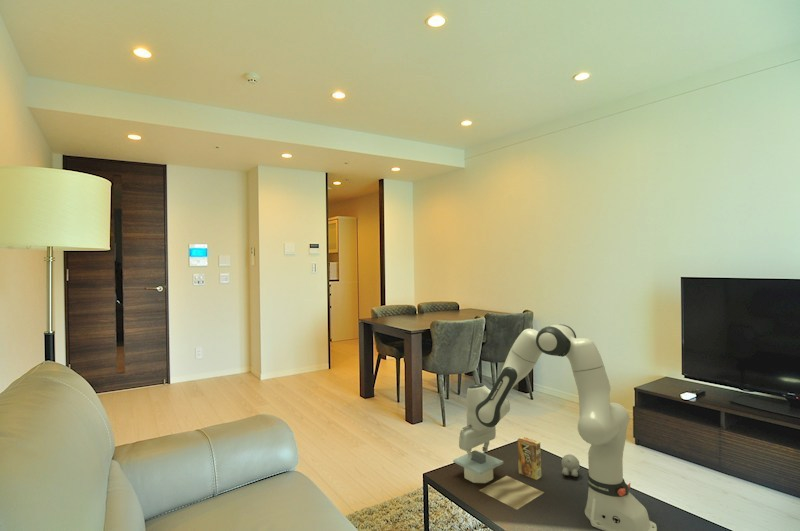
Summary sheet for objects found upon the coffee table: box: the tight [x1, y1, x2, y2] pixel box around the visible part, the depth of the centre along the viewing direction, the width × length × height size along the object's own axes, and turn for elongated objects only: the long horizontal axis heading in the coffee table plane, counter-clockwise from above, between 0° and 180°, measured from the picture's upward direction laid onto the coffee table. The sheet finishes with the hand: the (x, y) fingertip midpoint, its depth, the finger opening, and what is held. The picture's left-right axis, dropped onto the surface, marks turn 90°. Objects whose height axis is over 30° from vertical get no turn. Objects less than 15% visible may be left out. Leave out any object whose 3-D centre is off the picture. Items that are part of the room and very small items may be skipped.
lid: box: [452, 449, 504, 475], centre depth 181 cm, size 15×15×4 cm
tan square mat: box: [478, 475, 545, 510], centre depth 168 cm, size 18×18×1 cm
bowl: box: [463, 467, 494, 484], centre depth 181 cm, size 12×12×6 cm
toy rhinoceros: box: [561, 453, 581, 478], centre depth 182 cm, size 7×12×8 cm, turn 152°
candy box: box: [517, 436, 542, 481], centre depth 181 cm, size 9×4×15 cm, turn 44°
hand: (478, 454), depth 181 cm, fingers open, 8 cm apart
